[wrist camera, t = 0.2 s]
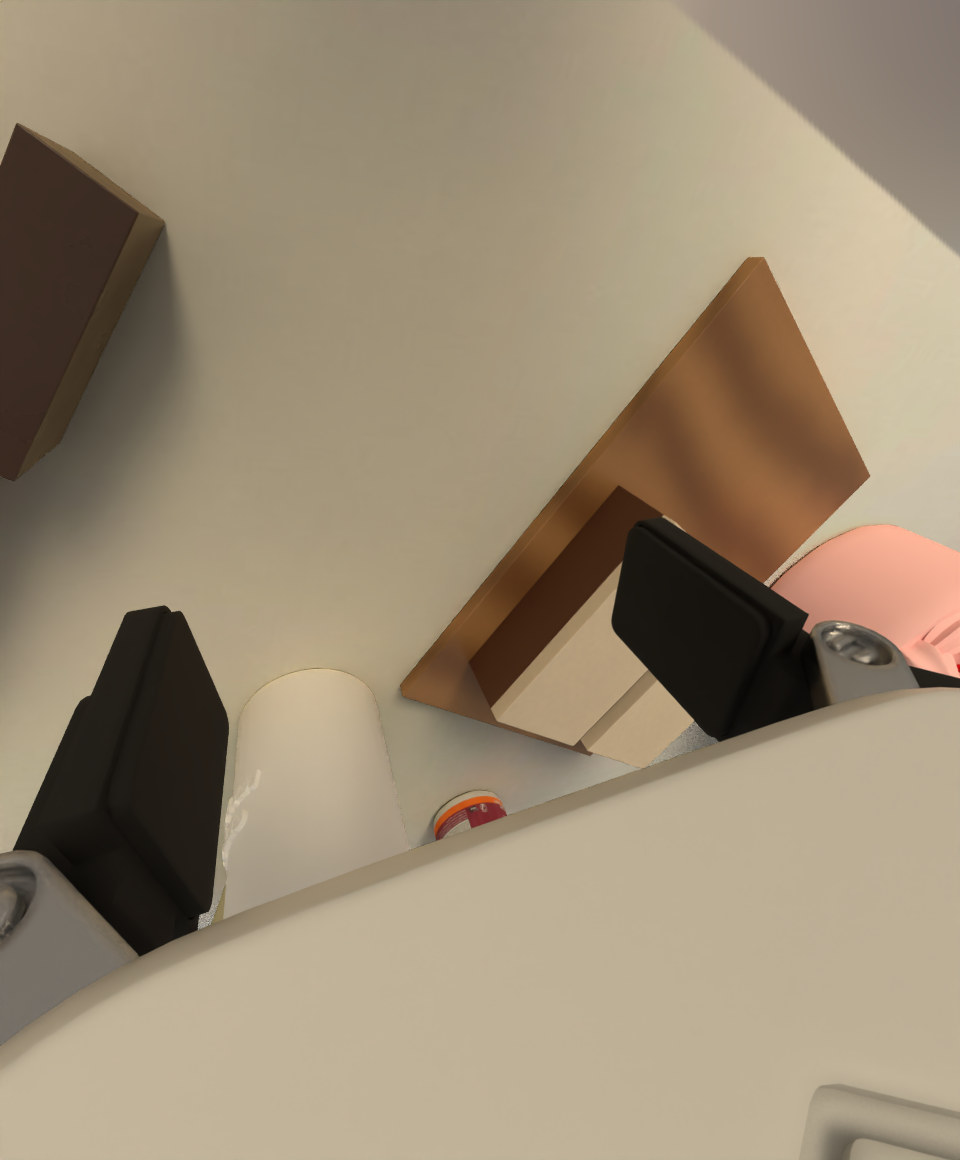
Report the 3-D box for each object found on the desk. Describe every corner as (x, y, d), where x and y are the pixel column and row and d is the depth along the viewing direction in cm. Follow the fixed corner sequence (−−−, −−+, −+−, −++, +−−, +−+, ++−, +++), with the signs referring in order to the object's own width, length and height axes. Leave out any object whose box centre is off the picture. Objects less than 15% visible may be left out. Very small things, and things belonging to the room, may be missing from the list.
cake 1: (618, 484, 27) (676, 522, 23) (678, 539, 31) (736, 580, 27) (467, 662, 30) (496, 721, 26) (539, 691, 34) (573, 746, 30)
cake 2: (689, 549, 32) (747, 590, 28) (733, 590, 36) (789, 631, 32) (552, 696, 35) (587, 751, 31) (606, 718, 39) (643, 769, 35)
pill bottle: (512, 795, 42) (575, 936, 34) (467, 837, 44) (516, 985, 35) (464, 780, 39) (520, 935, 30) (416, 828, 40) (456, 989, 31)
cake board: (747, 256, 23) (764, 256, 23) (857, 471, 35) (870, 476, 34) (399, 685, 31) (402, 696, 30) (584, 747, 42) (590, 756, 41)
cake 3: (909, 605, 49) (1096, 707, 38) (748, 725, 51) (881, 856, 40) (904, 472, 37) (1177, 564, 26) (695, 637, 39) (862, 788, 28)
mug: (238, 809, 32) (222, 1040, 22) (231, 672, 26) (206, 906, 17) (364, 788, 35) (396, 982, 26) (382, 662, 29) (433, 854, 20)
